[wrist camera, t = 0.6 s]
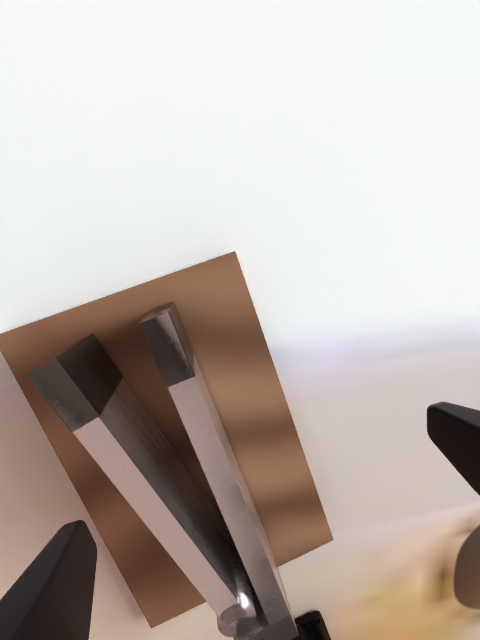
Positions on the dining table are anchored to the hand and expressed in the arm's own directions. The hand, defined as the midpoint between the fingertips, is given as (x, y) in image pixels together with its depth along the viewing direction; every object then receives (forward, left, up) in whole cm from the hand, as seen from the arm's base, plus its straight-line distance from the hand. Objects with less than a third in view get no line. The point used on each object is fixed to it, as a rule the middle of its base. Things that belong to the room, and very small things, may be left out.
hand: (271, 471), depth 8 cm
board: (-6, +4, -13) cm, 14 cm away
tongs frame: (-5, +3, -11) cm, 13 cm away
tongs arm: (-5, +5, -11) cm, 13 cm away
